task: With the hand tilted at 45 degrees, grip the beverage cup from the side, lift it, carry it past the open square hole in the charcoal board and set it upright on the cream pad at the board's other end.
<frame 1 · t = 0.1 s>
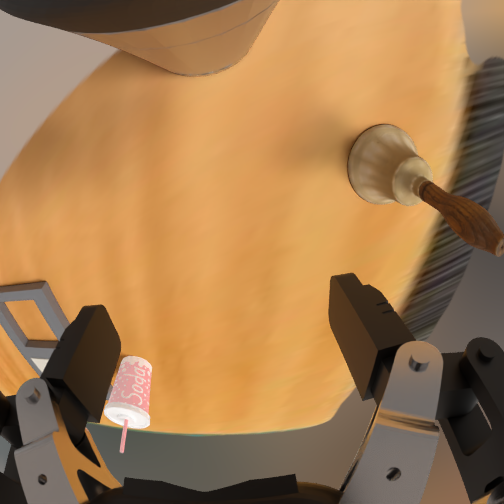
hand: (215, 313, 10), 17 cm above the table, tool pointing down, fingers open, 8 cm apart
beverage cup: (136, 364, 37), on the table
hole board: (51, 347, 34), on the table
hand bell: (383, 164, 25), on the table
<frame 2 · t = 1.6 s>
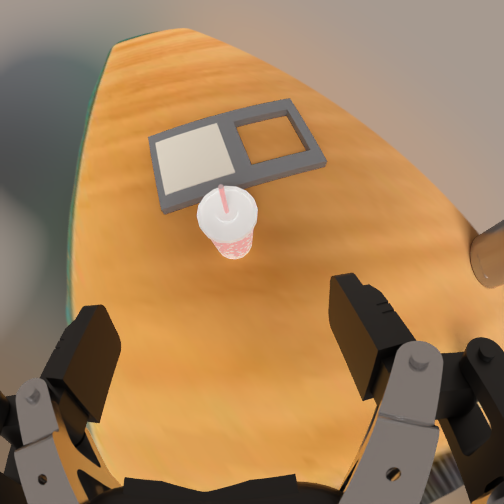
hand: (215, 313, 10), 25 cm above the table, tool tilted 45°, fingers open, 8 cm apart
beverage cup: (234, 242, 37), on the table
hole board: (232, 150, 41), on the table
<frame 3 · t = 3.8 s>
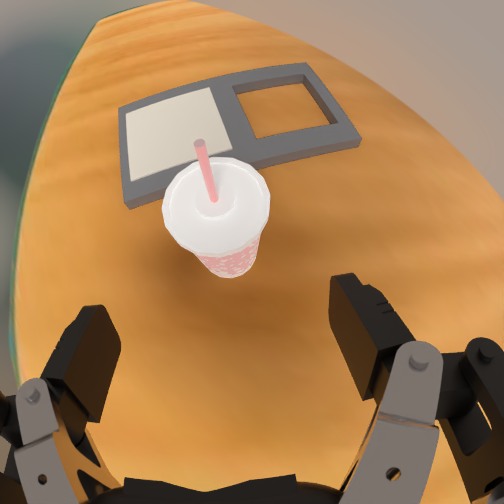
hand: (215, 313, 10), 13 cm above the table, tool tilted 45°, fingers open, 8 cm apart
beverage cup: (229, 252, 24), on the table
hole board: (230, 122, 29), on the table
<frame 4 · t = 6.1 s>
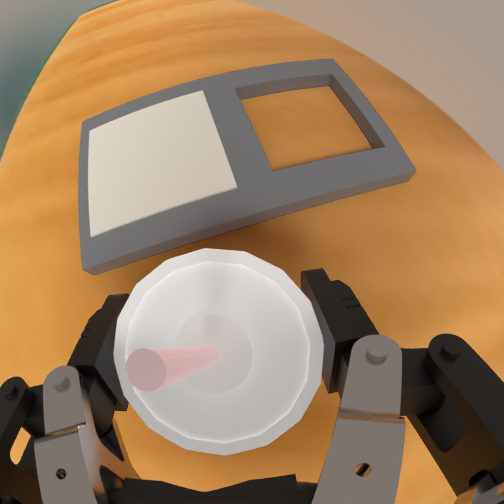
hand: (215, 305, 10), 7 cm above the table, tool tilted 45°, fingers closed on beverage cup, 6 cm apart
beverage cup: (235, 348, 16), on the table, touching gripper
hole board: (232, 141, 20), on the table
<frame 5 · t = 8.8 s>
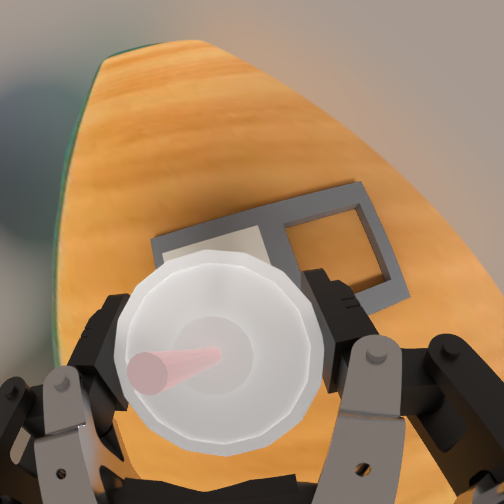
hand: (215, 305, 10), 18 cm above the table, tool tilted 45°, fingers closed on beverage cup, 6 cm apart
beverage cup: (235, 349, 16), point 11 cm above the table, touching gripper
hole board: (281, 273, 29), on the table
when the fingers open (10 cm above the table, at t = 11.8 s): beverage cup drops 1 cm, resting on hole board.
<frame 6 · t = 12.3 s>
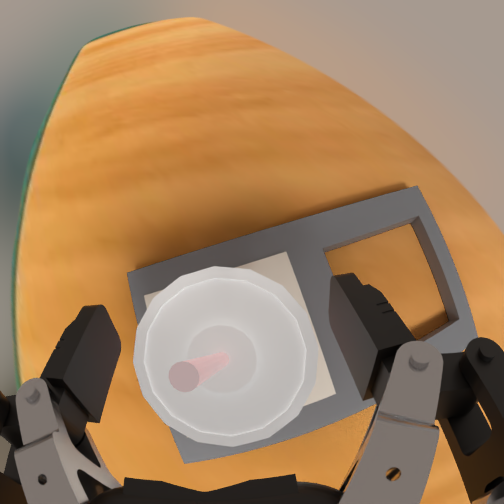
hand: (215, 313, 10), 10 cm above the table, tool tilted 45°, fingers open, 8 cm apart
beverage cup: (238, 351, 17), point 2 cm above the table, touching hole board
hole board: (320, 319, 19), on the table
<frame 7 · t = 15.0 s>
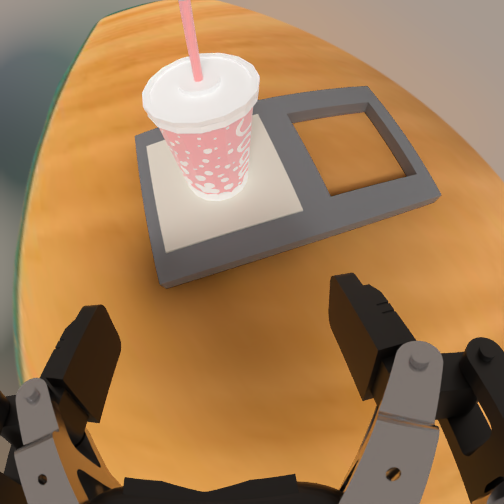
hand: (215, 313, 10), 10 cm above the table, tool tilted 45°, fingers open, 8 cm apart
beverage cup: (218, 175, 21), point 2 cm above the table, touching hole board
hole board: (288, 165, 23), on the table
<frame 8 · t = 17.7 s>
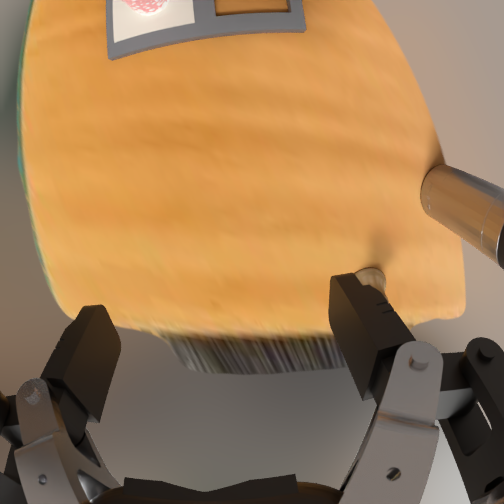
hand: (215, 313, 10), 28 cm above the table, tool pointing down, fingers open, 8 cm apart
beverage cup: (151, 1, 22), point 2 cm above the table, touching hole board
hand bell: (363, 288, 45), on the table
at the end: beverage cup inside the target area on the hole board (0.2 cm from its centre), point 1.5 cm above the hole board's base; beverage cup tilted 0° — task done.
